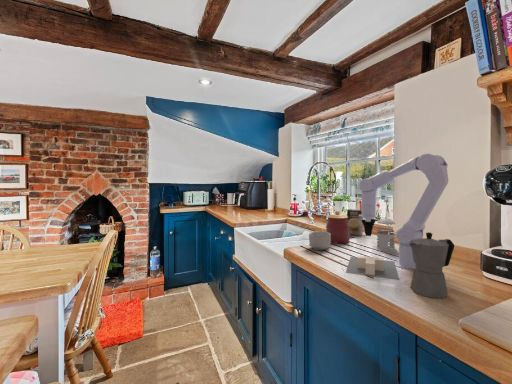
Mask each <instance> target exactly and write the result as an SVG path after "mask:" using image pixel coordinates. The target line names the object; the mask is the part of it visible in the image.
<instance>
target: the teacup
mask: <svg viewBox="0 0 512 384" xmlns="http://www.w3.org/2000/svg"><path fill="white" fill-rule="evenodd" d="M330 235H331V234H330V233H328V232H326V231H319V230H318V231H316V230H315V231H313V232H312V231H311V232H308V240H309V246H310V247H311V248H312V249H313V250H315V249H316V250H317V251H326V250H327V249H328V248H330V247H331V236H330Z"/></svg>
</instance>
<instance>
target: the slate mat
mask: <svg viewBox="0 0 512 384" xmlns="http://www.w3.org/2000/svg"><path fill="white" fill-rule="evenodd" d="M357 257H358V256H350V258H349V261H348V264H347V268H346V270H345V273H346V274H354V275H360V276H367V277H374V278H381V279H388V280H395V281H400V277H399V274H398V270H397V266H396V262H395V261H394V260H385V259H384V271H378V270H375V275H368V274H366V269H363V268H357Z"/></svg>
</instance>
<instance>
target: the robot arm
mask: <svg viewBox="0 0 512 384" xmlns="http://www.w3.org/2000/svg"><path fill="white" fill-rule="evenodd" d="M412 171H421V172H422V173H423V174H424V175H425V177H426V178H427V180H428V184H427V186H426V187H425V189H424V191H423V193H422V195H421V197H420V199H419V200H418V202H417V205H416V206H415V207H414V210H413V212H412V213H411V215H410V217H409V219H408V220H407V221H406V222H405V223H404V224H403V225H402V227H401V228H399V229H398V230H397V231H396V233H395V236H396V239H397V241H398V260H396V261H397V265H398V267H399V268H405V269H413V270H414V269H415V268H416V263H415V262H414V260H413V254H412V247H411V246H409V244H410V243H411V240H415V239H423V237H424V230H425V228H426V226H425V223H426V222H427V220H428V218H429V217H430V215H431V214H432V213H433V210H434V208H435V206H436V204H437V203H438V201H439V199H440V198H441V196H442V194H443V193H444V191H445V189H446V187H447V185H448V184H449V174H448V163H447V162H446V160H445V158H444V157H442V156H441V155H437V154H431V153H424V154H421V155H420V156H416V157H413V158H412V159H409V160H408V161H406V162H404V163H402V164H400V165H399V166H397V167H394V168H393V169H391V170H387V169H385V170H382V169H381V170H379V171H378V173H376V174H374V175H370V176H369V178H362V180H360V182H359V184H358V186H359V187H358V188H359V189H360V191H361V210H362V215H359V217H363V220H362V223H363V229H364V233H365V236H367V237H371V236H372V234H373V228H374V226H375V223H376V217H377V215H376V206H377V205H376V199H377V197H376V193H377V190H378V189H380V188H382V187H384V186H387V185H389V184H391V183H392V182H393V180H394V179H395V178H398V177H400V176H403V175H406V174H408V173H410V172H412Z"/></svg>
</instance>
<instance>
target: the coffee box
mask: <svg viewBox="0 0 512 384" xmlns="http://www.w3.org/2000/svg"><path fill="white" fill-rule="evenodd" d="M359 215H362V209H353V208H352V209H351V208H349V209H347V210H346V216H347V217H348V218H347V219H348V220H349V221H350V222H349V227H350V228H349V234H354V235H353V236H358V235H361V236H363V231H364V230H363V229H364V225H363V223H362V220H363V219H364V218H363V217H359Z"/></svg>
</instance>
